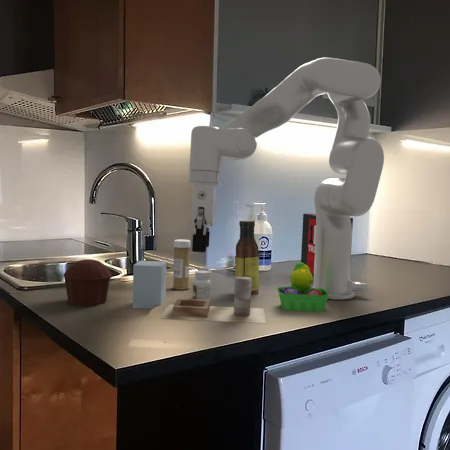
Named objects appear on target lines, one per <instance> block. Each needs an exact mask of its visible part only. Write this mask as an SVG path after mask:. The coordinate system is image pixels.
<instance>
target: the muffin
mask: <svg viewBox="0 0 450 450" xmlns="http://www.w3.org/2000/svg"><path fill="white" fill-rule="evenodd" d="M112 277H113V274H112V272H111V270H110V269H109V268H108V267H107V266H106V265H105V264H104V263H103V262H100V261H99V260H96V259H93V258H92V259H89V258H88V259H81V260H77V261H75V262H74V263H72V264H71V265H70V266H69V267H68V268H67V269H66V271H65V272H64V273H63V278H64V283H65V290H66V297H67V302H68V304H70V305H72V306H78V307H95V306H96V307H97V306H100V305H102V304H103V305H104V304H106V302H107V300H108V295H109V287H110V282H111V278H112Z"/></svg>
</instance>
